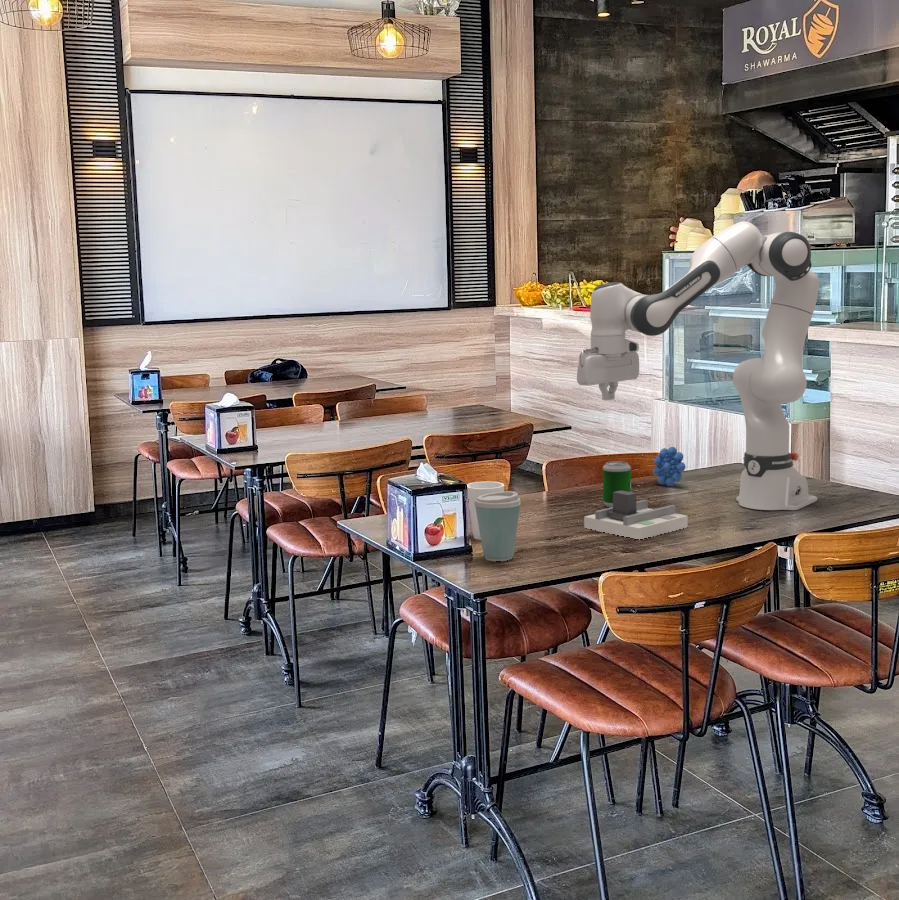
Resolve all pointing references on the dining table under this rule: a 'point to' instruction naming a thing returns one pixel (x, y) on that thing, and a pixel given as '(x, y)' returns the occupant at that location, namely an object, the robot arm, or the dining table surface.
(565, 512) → the dining table surface
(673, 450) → the grapes
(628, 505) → the handle
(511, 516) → the disposable coffee cup
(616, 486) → the soda can
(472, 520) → the foam cup
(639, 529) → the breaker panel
